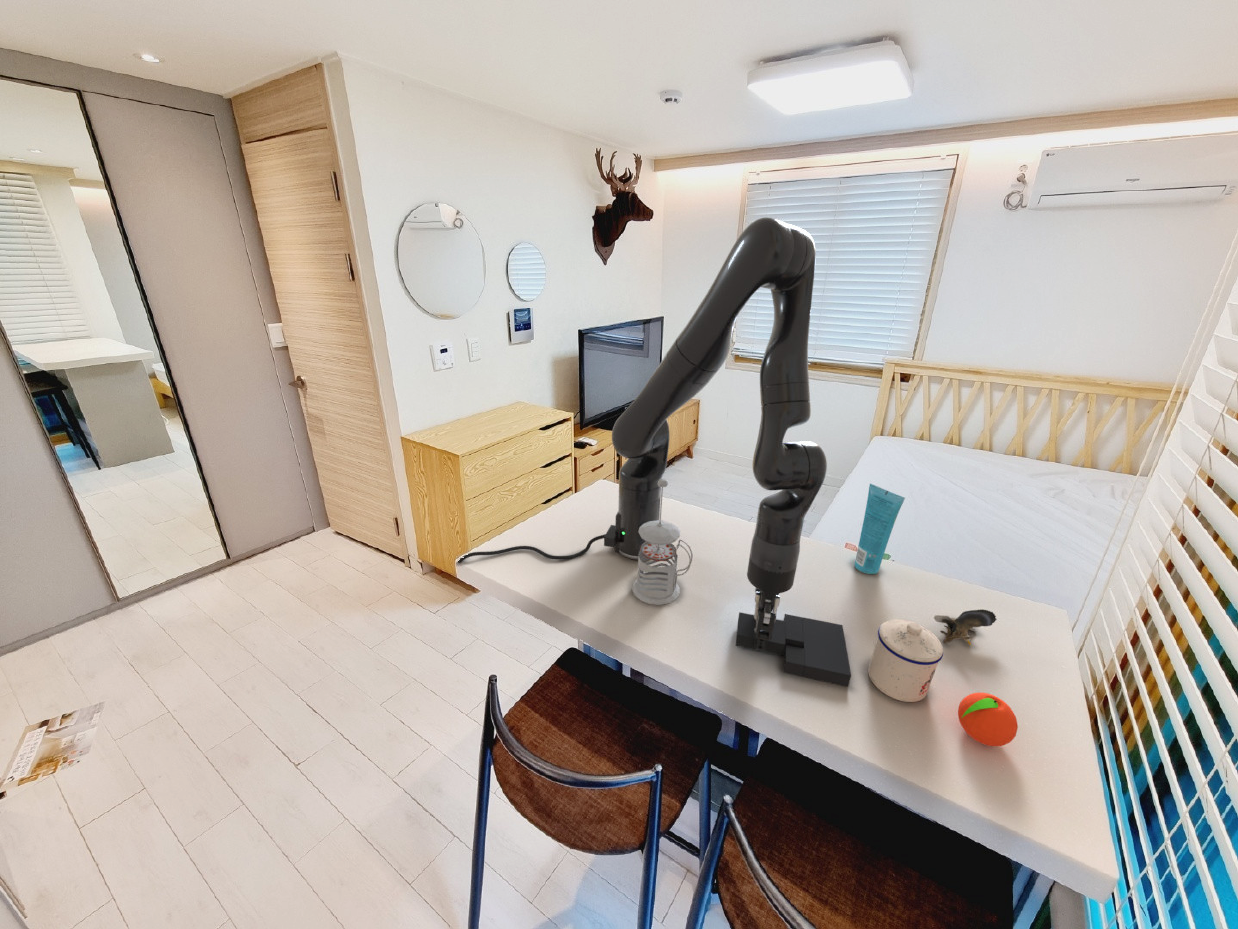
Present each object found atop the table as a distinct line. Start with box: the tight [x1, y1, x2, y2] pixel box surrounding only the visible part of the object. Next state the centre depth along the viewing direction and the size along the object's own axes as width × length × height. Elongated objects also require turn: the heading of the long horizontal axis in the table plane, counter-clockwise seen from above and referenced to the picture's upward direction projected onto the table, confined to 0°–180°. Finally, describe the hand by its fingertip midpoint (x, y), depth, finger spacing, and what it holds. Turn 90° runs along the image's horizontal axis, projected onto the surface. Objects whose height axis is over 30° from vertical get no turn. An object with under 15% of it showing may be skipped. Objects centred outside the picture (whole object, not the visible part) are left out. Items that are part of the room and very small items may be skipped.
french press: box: [631, 478, 694, 606], centre depth 97 cm, size 10×12×25 cm
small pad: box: [735, 611, 804, 656], centre depth 88 cm, size 11×6×2 cm, turn 74°
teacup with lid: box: [867, 619, 944, 703], centre depth 81 cm, size 12×9×12 cm
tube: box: [854, 483, 906, 575], centre depth 107 cm, size 7×5×19 cm, turn 39°
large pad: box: [782, 613, 852, 688], centre depth 87 cm, size 10×12×2 cm
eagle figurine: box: [933, 609, 998, 646], centre depth 91 cm, size 8×7×9 cm
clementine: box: [957, 692, 1019, 747], centre depth 72 cm, size 8×7×7 cm
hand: (760, 635), depth 89 cm, fingers closed on small pad, 6 cm apart
